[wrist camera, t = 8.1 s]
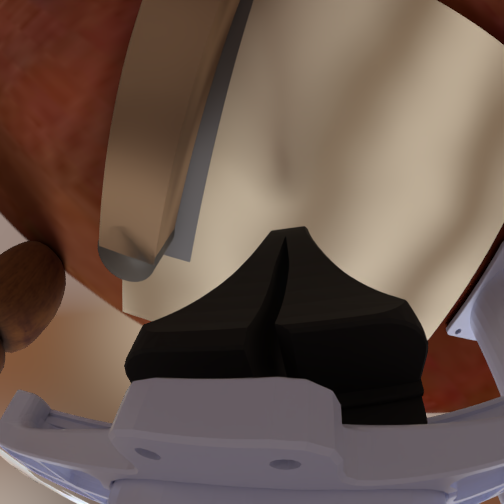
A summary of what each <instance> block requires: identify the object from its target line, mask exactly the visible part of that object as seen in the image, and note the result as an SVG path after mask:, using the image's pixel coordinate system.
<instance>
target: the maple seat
mask: <svg viewBox="0 0 504 504" xmlns="http://www.w3.org/2000/svg"><path fill="white" fill-rule="evenodd" d="M503 223H504V45H503V44H502V43H500V42H499V41H498V40H497V39H495V38H494V37H493V36H491V35H490V34H488V33H487V32H486V31H484V30H483V29H481V28H480V27H479V26H477V25H476V24H474V23H473V22H471V21H470V20H468V19H467V18H465V17H464V16H462V15H460V14H459V13H457V12H456V11H454V10H452V9H451V8H449V7H447V6H446V5H444V4H442V3H441V2H439V1H437V0H240V2H239V4H238V7H237V10H236V13H235V15H234V18H233V21H232V24H231V26H230V29H229V32H228V35H227V38H226V41H225V44H224V47H223V50H222V53H221V56H220V59H219V62H218V65H217V68H216V71H215V75H214V78H213V81H212V84H211V88H210V91H209V94H208V98H207V101H206V104H205V108H204V111H203V115H202V118H201V122H200V126H199V129H198V133H197V137H196V140H195V144H194V148H193V152H192V156H191V160H190V164H189V168H188V172H187V176H186V180H185V184H184V188H183V193H182V197H181V201H180V206H179V210H178V215H177V219H176V224H175V233H174V238H173V240H172V242H171V243H170V245H169V247H168V248H167V250H166V252H165V253H164V255H163V256H162V258H161V260H160V261H159V263H158V265H157V266H156V268H155V270H154V271H153V273H152V274H151V276H150V277H148V278H147V279H145V280H143V281H140V282H129V281H125V280H123V312H126V313H129V314H131V315H134V316H137V317H140V318H143V319H147V320H150V321H154V320H157V319H159V318H162V317H164V316H167V315H169V314H171V313H173V312H176V311H178V310H180V309H182V308H183V307H185V306H187V305H189V304H191V303H193V302H194V301H196V300H198V299H200V298H201V297H203V296H204V295H206V294H207V293H209V292H210V291H211V290H213V289H214V288H216V287H217V286H219V285H220V284H221V283H223V282H224V281H225V280H226V279H227V278H229V277H230V276H231V275H232V274H233V273H234V272H235V271H236V270H238V269H239V267H240V266H241V265H242V264H243V263H244V262H245V261H246V260H247V259H248V258H249V257H250V256H251V255H252V254H253V252H254V251H255V250H256V249H257V248H258V246H259V245H260V244H261V243H262V241H263V240H264V239H265V238H266V236H267V235H268V234H269V233H270V231H272V230H279V229H286V228H294V227H301V226H305V227H306V228H308V231H309V233H310V235H311V237H312V238H313V240H314V241H315V243H316V244H317V245H318V247H319V248H320V249H321V250H322V251H323V253H324V254H325V255H326V256H327V257H328V258H329V259H330V260H331V261H332V262H333V263H334V264H335V265H336V266H338V267H339V268H340V269H341V270H342V271H344V272H345V273H346V274H348V275H349V276H351V277H352V278H354V279H356V280H357V281H359V282H361V283H363V284H365V285H367V286H369V287H371V288H373V289H376V290H378V291H380V292H383V293H386V294H389V295H392V296H395V297H398V298H401V299H405V300H406V301H407V302H408V303H409V305H410V306H411V308H412V309H413V311H414V312H415V314H416V316H417V317H418V319H419V321H420V323H421V325H422V327H423V329H424V332H425V334H426V338H427V340H428V339H429V338H430V336H431V335H432V334H433V333H434V331H435V330H436V329H437V327H438V326H439V325H440V323H441V322H442V321H443V319H444V318H445V317H446V315H447V314H448V312H449V311H450V310H451V308H452V307H453V305H454V304H455V302H456V301H457V300H458V298H459V297H460V295H461V294H462V292H463V291H464V289H465V288H466V286H467V285H468V283H469V282H470V280H471V278H472V277H473V275H474V274H475V272H476V270H477V269H478V267H479V266H480V264H481V262H482V261H483V259H484V257H485V256H486V254H487V252H488V250H489V249H490V247H491V245H492V243H493V242H494V240H495V238H496V236H497V234H498V232H499V231H500V229H501V227H502V225H503Z"/></svg>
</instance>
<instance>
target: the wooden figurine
mask: <svg viewBox="0 0 504 504" xmlns="http://www.w3.org/2000/svg"><path fill="white" fill-rule="evenodd" d="M65 280H66V278H65V271H64V268H63V265H62V262H61V260H60V259H59V258H58V256H57V255H56V254H55V253H54V252H53V251H52V250H51V249H50V248H49V247H48V246H46V245H44V244H42V243H40V242H38V241H27V242H24V243H21V244H18V245H16V246H14V247H12V248H10V249H8V250H7V251H5V252H3V253H2V254H1V255H0V373H1V371H2V369H3V368H4V363H5V352H10V353H12V352H16V351H18V350H21V349H23V348H26V347H27V346H28V345H29V344H31V343H32V342H33V341H34V340H35V339H36V338H37V337H38V336H39V335H40V334H41V332H42V331H43V330H44V329H45V328H46V327H47V326H48V324H49V323H50V322H51V320H52V319H53V318H54V316H55V314H56V312H57V310H58V308H59V306H60V304H61V301H62V298H63V295H64V291H65V285H66V281H65Z"/></svg>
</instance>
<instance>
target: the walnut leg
mask: <svg viewBox="0 0 504 504" xmlns="http://www.w3.org/2000/svg"><path fill="white" fill-rule="evenodd" d="M239 2H240V0H142V3H141V6H140V9H139V12H138V15H137V19H136V22H135V25H134V28H133V32H132V35H131V39H130V42H129V46H128V50H127V54H126V57H125V61H124V65H123V70H122V74H121V78H120V83H119V87H118V92H117V97H116V102H115V107H114V112H113V117H112V123H111V129H110V135H109V142H108V149H107V156H106V163H105V172H104V181H103V190H102V202H101V215H100V231H99V241H98V252H99V256H100V258H101V260H102V262H103V264H104V265H105V267H106V268H107V269H108V270H109V271H110V272H111V273H112V274H114V275H115V276H117V277H118V278H120V279H123V280H125V281H129V282H140V281H143V280H145V279H147V278H148V277H150V276H151V274H152V273H153V271H154V270H155V268H156V266H157V265H158V263H159V261H160V260H161V258H162V256H163V255H164V253H165V252H166V250H167V248H168V247H169V245H170V243H171V242H172V240H173V238H174V233H175V224H176V219H177V215H178V210H179V206H180V201H181V197H182V193H183V188H184V184H185V180H186V176H187V172H188V168H189V164H190V160H191V156H192V152H193V148H194V144H195V140H196V137H197V133H198V129H199V126H200V122H201V118H202V115H203V111H204V108H205V104H206V101H207V98H208V94H209V91H210V88H211V84H212V81H213V78H214V75H215V71H216V68H217V65H218V62H219V59H220V56H221V53H222V50H223V47H224V44H225V41H226V38H227V35H228V32H229V29H230V26H231V24H232V21H233V18H234V15H235V13H236V10H237V7H238V4H239Z"/></svg>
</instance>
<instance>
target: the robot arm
mask: <svg viewBox="0 0 504 504" xmlns="http://www.w3.org/2000/svg"><path fill="white" fill-rule="evenodd" d="M446 331H447V333H448V334H449V335H452V336H457V337H461V338H466V339H471V340H476V341H477V342H478V344H479V346H480V348H481V350H482V352H483V355H484V357H485V359H486V361H487V363H488V366H489V368H490V370H491V372H492V375H493V377H494V379H495V382H496V384H497V387H498V389H499V392H500V394H501V397H499V398H496V399H493V400H490V401H487V402H484V403H481V404H478V405H474V406H471V407H468V408H464V409H461V410H457V411H454V412H450V413H446V414H442V415H438V416H434V417H430V418H427V417H426V412H425V408H424V404H423V400H422V396H423V393H424V389H423V385H422V382H421V376H422V372H423V368H424V365H425V361H426V357H427V353H428V341H427V338H426V334H425V332H424V329H423V327H422V325H421V323H420V321H419V319H418V317H417V316H416V314H415V312H414V311H413V309H412V308H411V306H410V305H409V303H408V302H407V301H406V300H405V299H401V298H398V297H395V296H392V295H389V294H386V293H383V292H380V291H378V290H376V289H373V288H371V287H369V286H367V285H365V284H363V283H361V282H359V281H357V280H356V279H354V278H352V277H351V276H349V275H348V274H346V273H345V272H344V271H342V270H341V269H340V268H339V267H338V266H336V265H335V264H334V263H333V262H332V261H331V260H330V259H329V258H328V257H327V256H326V255H325V254H324V253H323V251H322V250H321V249H320V248H319V247H318V245H317V244H316V243H315V241H314V240H313V238H312V237H311V235H310V233H309V231H308V228H306V227H305V226H301V227H294V228H286V229H279V230H272V231H270V233H269V234H268V235H267V236H266V238H265V239H264V240H263V241H262V243H261V244H260V245H259V246H258V248H257V249H256V250H255V251H254V252H253V254H252V255H251V256H250V257H249V258H248V259H247V260H246V261H245V262H244V263H243V264H242V265H241V266H240V267H239V269H238V270H236V271H235V272H234V273H233V274H232V275H231V276H230V277H229V278H227V279H226V280H225V281H224V282H223V283H221V284H220V285H219V286H217V287H216V288H214V289H213V290H211V291H210V292H209V293H207V294H206V295H204V296H203V297H201V298H200V299H198V300H196V301H194V302H193V303H191V304H189V305H187V306H185V307H183V308H182V309H180V310H178V311H176V312H173V313H171V314H169V315H167V316H164V317H162V318H159V319H157V320H154V321H152V322H150V323H147V324H144V325H143V326H142V328H141V330H140V332H139V334H138V336H137V338H136V340H135V342H134V344H133V346H132V348H131V350H130V352H129V354H128V356H127V358H126V361H125V365H124V367H125V371H126V375H127V377H128V378H129V380H130V382H131V385H130V386H129V388H128V389H127V391H126V393H125V396H124V398H123V400H122V402H121V405H120V407H119V409H118V412H117V414H116V417H115V419H114V421H113V424H112V423H107V422H102V421H97V420H93V419H88V418H84V417H79V416H75V415H71V414H67V413H63V412H59V411H56V410H52V409H51V408H50V407H49V406H48V404H47V403H46V402H45V401H44V400H43V399H42V398H41V397H39V396H38V395H36V394H33V393H30V392H26V391H23V390H17V392H16V394H15V395H14V397H13V399H12V400H11V402H10V404H9V405H8V407H7V409H6V411H5V412H4V414H3V416H2V418H1V419H0V447H1V448H3V449H4V450H5V451H6V452H8V453H9V454H10V455H11V456H13V457H14V458H15V459H16V460H18V461H19V462H20V463H22V464H23V465H24V466H26V467H27V468H28V469H30V470H31V471H33V472H34V473H36V474H38V475H40V476H42V477H44V478H46V479H48V480H50V481H52V482H54V483H56V484H58V485H60V486H62V487H65V488H67V489H69V490H71V491H73V492H75V493H78V494H80V495H82V496H84V497H87V498H89V499H91V500H94V501H96V502H99V503H101V504H479V503H481V502H483V501H486V500H488V499H490V498H493V497H495V496H497V495H498V497H499V500H500V502H501V504H504V241H503V242H502V244H501V245H500V247H499V249H498V251H497V252H496V254H495V256H494V257H493V259H492V261H491V262H490V264H489V266H488V267H487V269H486V271H485V272H484V274H483V275H482V277H481V279H480V280H479V282H478V283H477V285H476V286H475V288H474V289H473V291H472V292H471V294H470V295H469V297H468V298H467V300H466V301H465V303H464V304H463V305H462V307H461V308H460V310H459V311H458V312H457V314H456V315H455V316H454V318H453V319H452V321H451V322H450V323H449V325H448V326H447V328H446Z"/></svg>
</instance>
